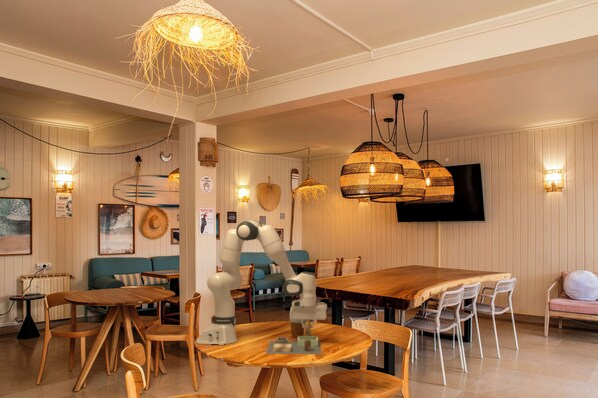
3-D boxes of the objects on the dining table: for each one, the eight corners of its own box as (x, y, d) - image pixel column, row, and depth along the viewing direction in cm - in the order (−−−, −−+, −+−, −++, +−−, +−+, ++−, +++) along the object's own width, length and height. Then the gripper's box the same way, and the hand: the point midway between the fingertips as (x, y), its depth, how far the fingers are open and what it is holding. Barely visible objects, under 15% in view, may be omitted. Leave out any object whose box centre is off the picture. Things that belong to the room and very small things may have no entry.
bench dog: (304, 351, 236) (304, 341, 237) (304, 349, 239) (304, 339, 240) (310, 351, 236) (310, 341, 236) (310, 349, 239) (310, 339, 240)
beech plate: (273, 351, 235) (273, 347, 235) (274, 348, 242) (274, 343, 242) (290, 352, 234) (290, 347, 235) (291, 348, 241) (291, 343, 242)
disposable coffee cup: (304, 341, 261) (304, 319, 262) (287, 340, 263) (287, 318, 264) (307, 337, 270) (307, 316, 271) (291, 336, 272) (291, 315, 273)
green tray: (297, 346, 245) (297, 340, 245) (297, 342, 255) (297, 335, 255) (318, 347, 245) (318, 340, 245) (317, 342, 255) (317, 335, 255)
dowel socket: (275, 345, 247) (275, 340, 247) (276, 342, 253) (276, 337, 254) (287, 345, 247) (287, 340, 247) (288, 343, 253) (288, 337, 253)
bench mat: (265, 355, 231) (265, 353, 231) (270, 342, 257) (270, 341, 257) (321, 355, 231) (321, 354, 231) (320, 343, 257) (320, 341, 257)
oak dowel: (305, 336, 248) (305, 319, 249) (305, 335, 251) (305, 318, 252) (310, 336, 248) (310, 319, 249) (310, 335, 251) (310, 318, 252)
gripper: (326, 301, 254) (327, 326, 253) (289, 301, 255) (289, 326, 254) (327, 303, 248) (327, 329, 247) (289, 303, 248) (289, 329, 247)
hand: (308, 328), depth 250 cm, fingers closed on oak dowel, 3 cm apart
